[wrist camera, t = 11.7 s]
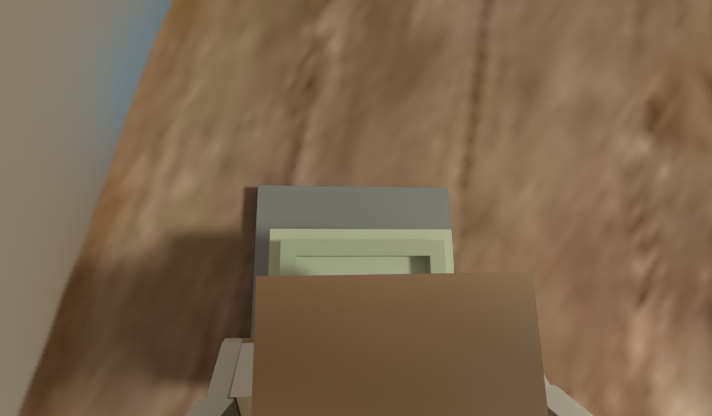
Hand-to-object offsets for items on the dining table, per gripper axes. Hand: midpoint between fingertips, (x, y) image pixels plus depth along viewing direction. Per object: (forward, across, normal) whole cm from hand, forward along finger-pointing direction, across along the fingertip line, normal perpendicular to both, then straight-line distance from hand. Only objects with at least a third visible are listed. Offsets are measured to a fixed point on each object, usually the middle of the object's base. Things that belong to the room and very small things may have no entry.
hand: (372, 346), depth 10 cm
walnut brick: (+3, 0, +4) cm, 5 cm away
